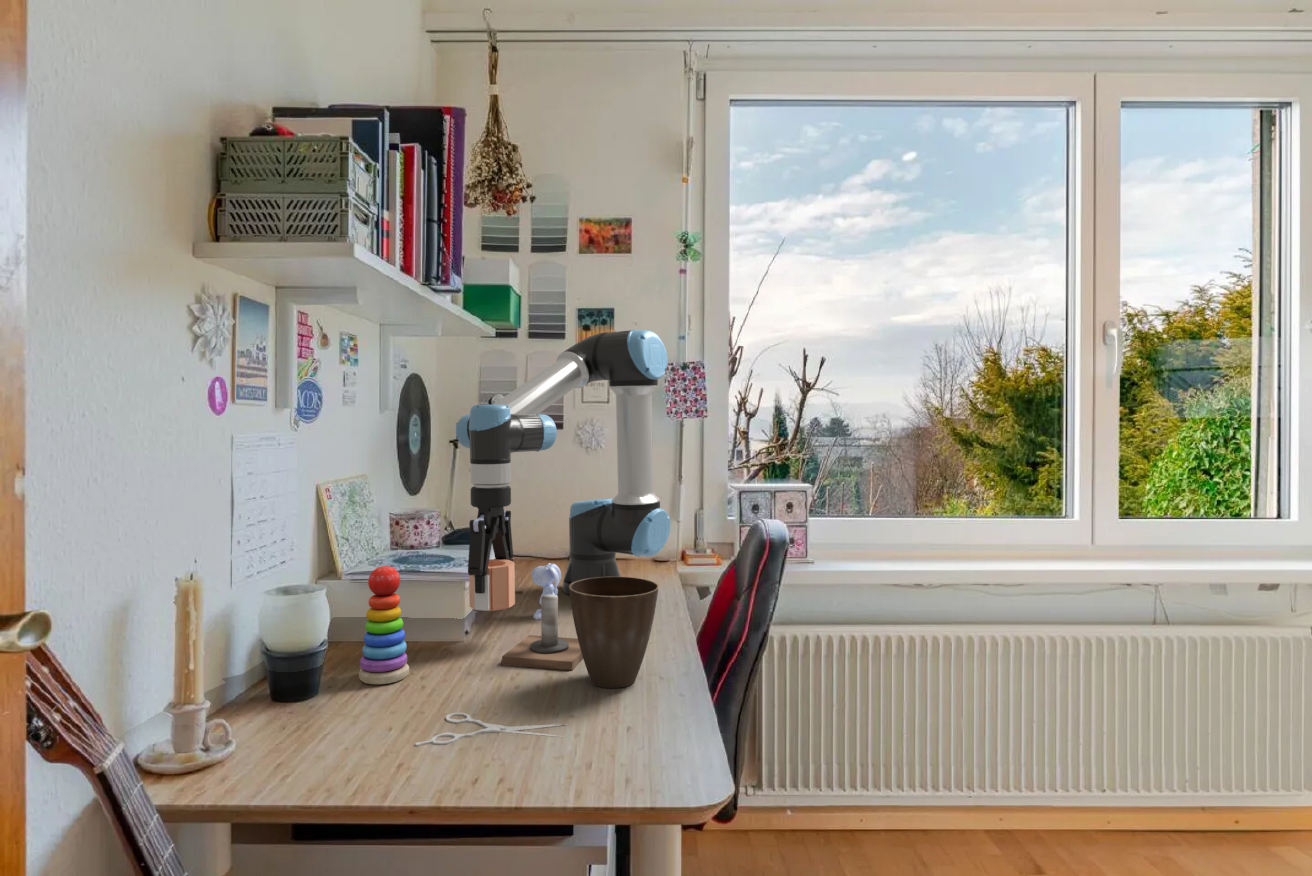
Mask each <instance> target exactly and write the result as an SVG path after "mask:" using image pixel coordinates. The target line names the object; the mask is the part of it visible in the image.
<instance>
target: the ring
mask: <svg viewBox="0 0 1312 876" xmlns="http://www.w3.org/2000/svg"><path fill="white" fill-rule="evenodd" d="M515 564H516V563H515V562H514V561H513V562H512V561H510V560H504V559H495V558H493V559H492V558H489V564H488V571H487V575H490V610H488V611H487V610H481V611H483V612H484V611H487V612H491V611H492V612H494V611H501V610H507V609H510V608H511V607H513V606H515V605H516V580H515V579H516V578H515V573H516V572H515V566H516V565H515ZM468 580H469V581H468V585H469V586H468V588H469V589H468V591H469V592H468V593H469V607H470V608H471V609H473V610H474V611H476V610H475V596H474V575H469V574H468Z"/></svg>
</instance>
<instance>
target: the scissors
mask: <svg viewBox="0 0 1312 876" xmlns="http://www.w3.org/2000/svg"><path fill="white" fill-rule="evenodd" d="M455 716H462V717H463V716H464V717H466V718H462V719H454V718H451V717H455ZM445 720H446V722H449V723H451V724H462V723H472V724H478V725H480V726H482V727H483V729H479V730H476V731H474V732H473V731H472V732H467V733H454V732H451V731H447V732H443V733H439V734H436V735H434V736H433V737H431V739H428V740H424V741H418V742H415V747H420V746H423V745H429V744H433V745H440V746H442V745H444V746H445V745H449V744H452V743H455V742H457V741H458V740H460V739H463V738H470V737H471V738H472V737H474V736H475V735H479V734H480V735H481V734H488V733H489V734H490V733H502V732H503V733H512V734H520V735H521V734H522V735H531V736H532V735H534V736H546V737H555V738H556V737H557V738H559V737H560V738H563V736H562V735H561V736H560V735H555V734H554V735H553V734H547V733H537V732H530V731H522V730H532V729H541V728H550V727H559V726H561V724H539V725H538V724H537V725H535V724H534V725H532V724H531V725H516V726H506V725H503V724H495V723H494V724H493V723H487V722H483V721H482V720H481V719H473V718H472V717H471V715H470V714H468V713H466V712H452V713H449V714H447V715H446V716H445ZM568 725H570V724H568V723H567V724H566V726H568ZM443 737H452V739H449V740H444V741H443V740H437V739H439V738H443Z"/></svg>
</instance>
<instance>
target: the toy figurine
mask: <svg viewBox="0 0 1312 876" xmlns="http://www.w3.org/2000/svg"><path fill="white" fill-rule="evenodd" d="M530 575H531V580H532V583H533V584H534V585H536V586H539V587H543V588H542V593H541V595H540V598H539V602H538V603H539V604H540V605H541V597H542V596H543V595H550V594H552V595H557V596H558V594H559V593H558V592H559V590H558V586H559V585H560V582H561V580H562V571H561V569H560V567H559V566H558V565H557V564H555V563H550V562H549V563H547V564H546V565H539V566H536V567H534V568H533V569H532V570H531V573H530ZM532 618H533V619H534V620H541V608H538V609H536V611H535V613H534V614H533V617H532Z"/></svg>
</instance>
